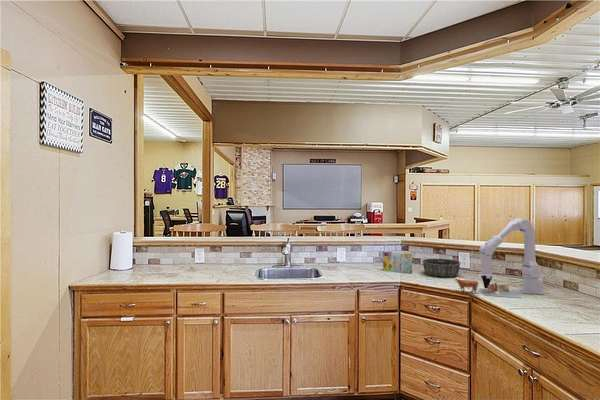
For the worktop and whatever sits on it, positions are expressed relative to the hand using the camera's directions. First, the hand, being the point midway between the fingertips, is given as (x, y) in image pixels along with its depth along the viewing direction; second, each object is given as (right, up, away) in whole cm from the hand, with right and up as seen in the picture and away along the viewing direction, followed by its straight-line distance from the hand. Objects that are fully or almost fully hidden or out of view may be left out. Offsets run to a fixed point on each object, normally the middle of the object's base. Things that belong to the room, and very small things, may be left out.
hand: (486, 288), depth 215 cm
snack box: (-36, -3, +63) cm, 72 cm away
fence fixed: (+10, -2, 0) cm, 10 cm away
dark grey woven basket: (-7, -3, +50) cm, 51 cm away
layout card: (+6, -2, -3) cm, 7 cm away
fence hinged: (+3, -2, -1) cm, 3 cm away
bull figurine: (-12, -3, +1) cm, 12 cm away
